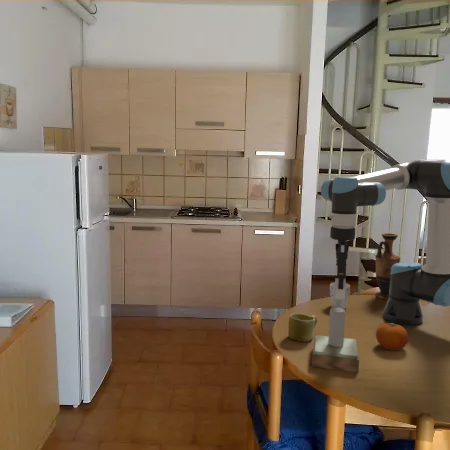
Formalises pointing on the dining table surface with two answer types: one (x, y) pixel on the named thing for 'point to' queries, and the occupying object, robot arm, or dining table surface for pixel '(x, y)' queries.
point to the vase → (385, 265)
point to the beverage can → (336, 327)
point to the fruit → (392, 336)
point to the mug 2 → (339, 302)
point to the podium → (335, 354)
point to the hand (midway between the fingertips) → (339, 292)
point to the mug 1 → (301, 327)
